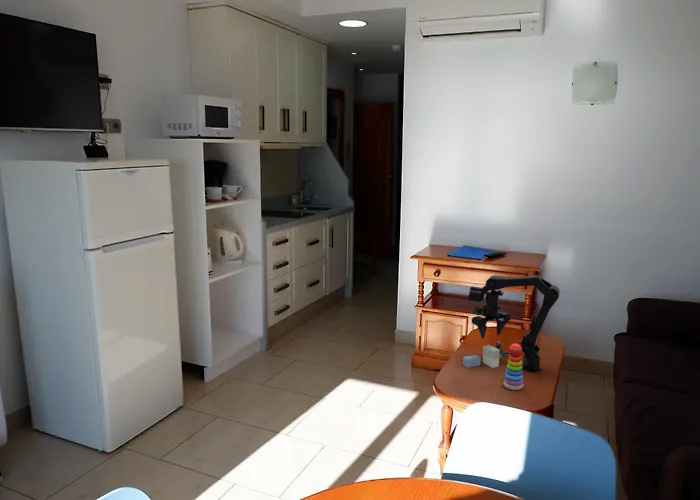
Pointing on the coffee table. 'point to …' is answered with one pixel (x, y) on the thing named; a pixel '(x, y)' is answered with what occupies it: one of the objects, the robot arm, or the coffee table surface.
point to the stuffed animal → (499, 346)
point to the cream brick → (491, 361)
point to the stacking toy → (514, 369)
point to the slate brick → (471, 361)
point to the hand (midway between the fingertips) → (490, 336)
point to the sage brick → (491, 352)
